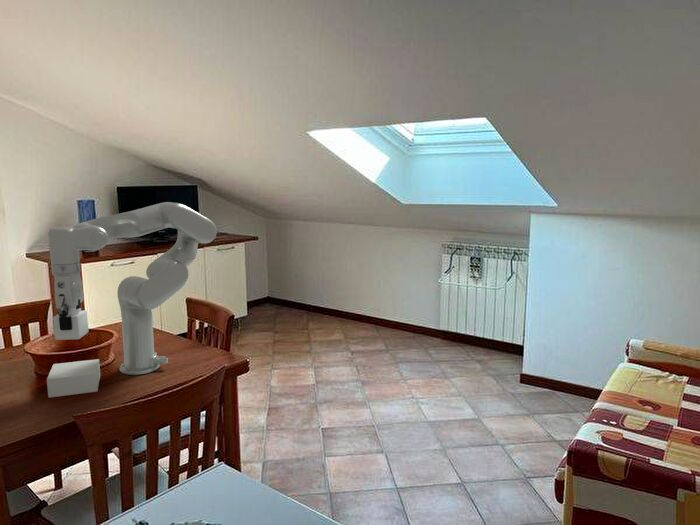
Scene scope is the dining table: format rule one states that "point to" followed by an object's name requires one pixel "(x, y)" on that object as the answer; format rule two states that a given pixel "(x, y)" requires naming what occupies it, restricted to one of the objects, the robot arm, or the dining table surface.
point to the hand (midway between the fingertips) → (71, 325)
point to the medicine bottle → (78, 324)
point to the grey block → (73, 378)
